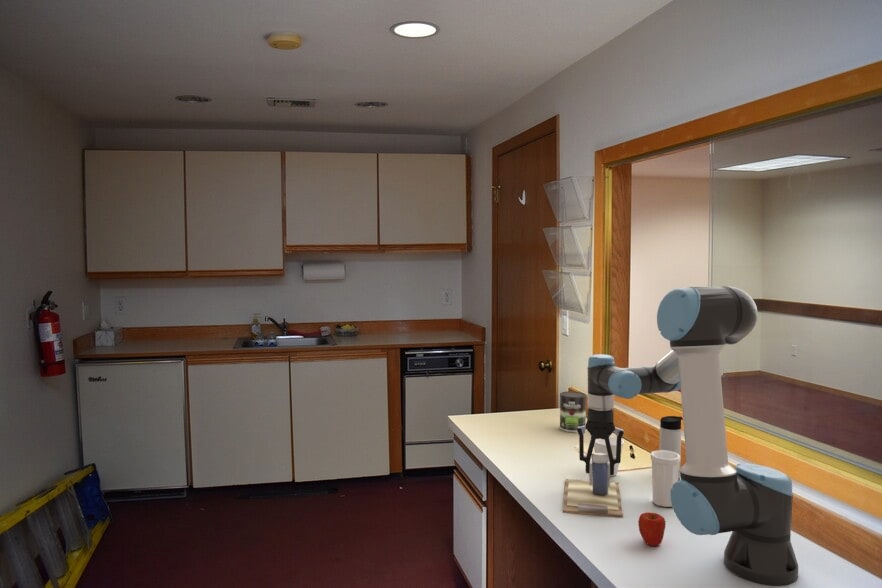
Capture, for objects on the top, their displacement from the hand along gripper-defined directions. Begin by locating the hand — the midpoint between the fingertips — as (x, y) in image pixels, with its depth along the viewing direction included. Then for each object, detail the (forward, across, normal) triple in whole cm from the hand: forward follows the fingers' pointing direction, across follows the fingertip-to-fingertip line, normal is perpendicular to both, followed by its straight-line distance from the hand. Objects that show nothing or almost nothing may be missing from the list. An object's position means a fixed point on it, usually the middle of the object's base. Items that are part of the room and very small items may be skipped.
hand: (599, 484), depth 187 cm
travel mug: (+3, -22, -16) cm, 27 cm away
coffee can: (+3, +10, -65) cm, 66 cm away
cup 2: (+3, -18, +4) cm, 19 cm away
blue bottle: (+1, 0, +2) cm, 3 cm away
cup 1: (+3, -3, -17) cm, 18 cm away
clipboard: (+3, +2, +4) cm, 5 cm away
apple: (+3, -12, +30) cm, 32 cm away
